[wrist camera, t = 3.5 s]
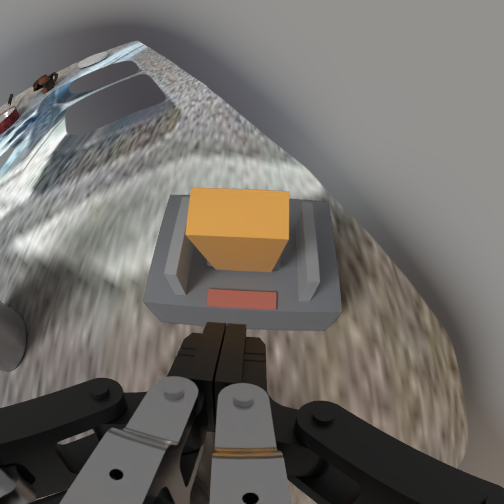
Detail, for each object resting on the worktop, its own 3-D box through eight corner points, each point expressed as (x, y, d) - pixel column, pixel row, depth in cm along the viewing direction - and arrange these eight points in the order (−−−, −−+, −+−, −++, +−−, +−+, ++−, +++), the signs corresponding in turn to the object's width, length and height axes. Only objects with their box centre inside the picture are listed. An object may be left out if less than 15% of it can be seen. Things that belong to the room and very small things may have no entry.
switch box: (160, 321, 29) (127, 282, 20) (179, 226, 36) (163, 169, 27) (325, 330, 29) (357, 294, 20) (317, 232, 36) (336, 176, 27)
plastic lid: (113, 54, 87) (112, 49, 85) (97, 65, 80) (95, 61, 78) (90, 60, 88) (89, 55, 86) (73, 72, 80) (72, 67, 78)
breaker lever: (209, 270, 26) (171, 234, 13) (211, 244, 26) (178, 188, 14) (278, 273, 26) (303, 240, 13) (279, 247, 26) (302, 192, 14)
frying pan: (0, 115, 68) (-5, 105, 63) (22, 99, 73) (18, 88, 67) (-9, 142, 55) (-16, 129, 50) (18, 121, 60) (12, 107, 54)
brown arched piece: (38, 99, 69) (29, 86, 64) (42, 101, 76) (33, 89, 71) (61, 78, 71) (51, 65, 65) (63, 82, 78) (54, 70, 73)
